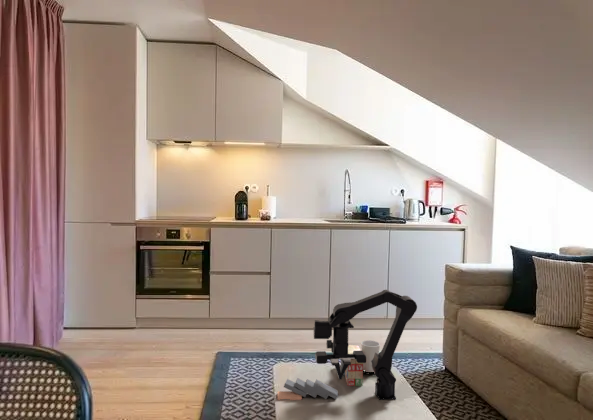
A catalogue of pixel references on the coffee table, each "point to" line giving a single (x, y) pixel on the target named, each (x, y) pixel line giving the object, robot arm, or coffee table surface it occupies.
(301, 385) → the domino
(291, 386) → the domino
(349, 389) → the coffee table surface
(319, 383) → the domino
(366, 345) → the cup
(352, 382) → the stack of blocks
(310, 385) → the domino
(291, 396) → the domino
